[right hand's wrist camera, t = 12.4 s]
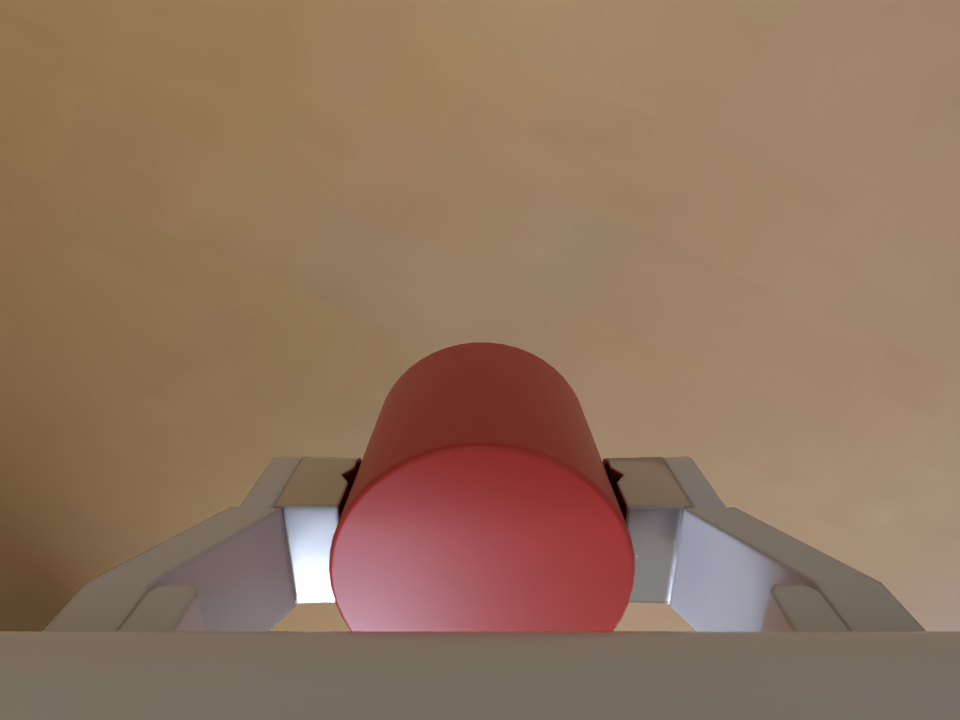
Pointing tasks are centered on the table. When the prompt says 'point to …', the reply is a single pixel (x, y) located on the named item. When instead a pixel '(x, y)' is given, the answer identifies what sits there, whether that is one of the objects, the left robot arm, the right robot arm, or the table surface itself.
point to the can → (481, 506)
